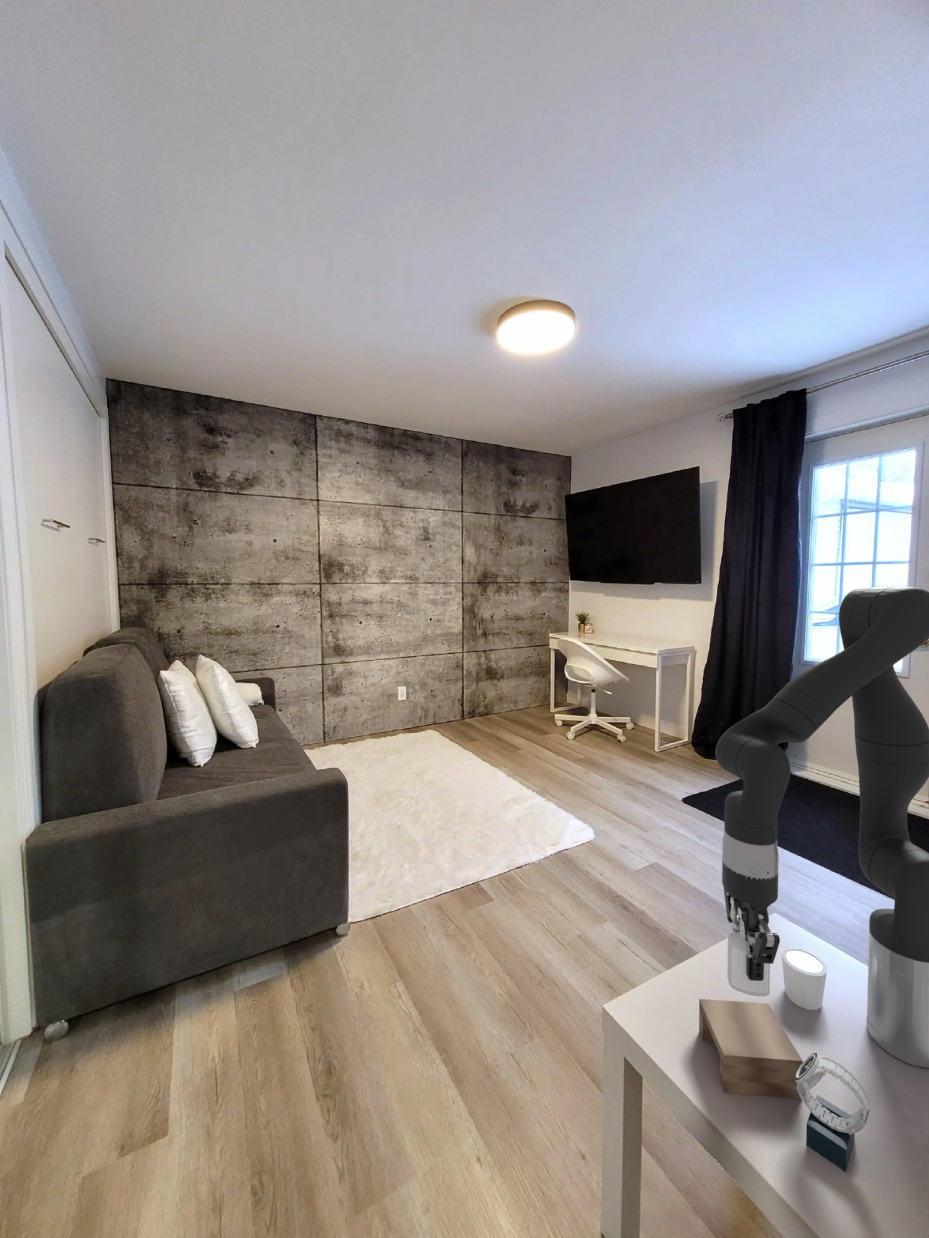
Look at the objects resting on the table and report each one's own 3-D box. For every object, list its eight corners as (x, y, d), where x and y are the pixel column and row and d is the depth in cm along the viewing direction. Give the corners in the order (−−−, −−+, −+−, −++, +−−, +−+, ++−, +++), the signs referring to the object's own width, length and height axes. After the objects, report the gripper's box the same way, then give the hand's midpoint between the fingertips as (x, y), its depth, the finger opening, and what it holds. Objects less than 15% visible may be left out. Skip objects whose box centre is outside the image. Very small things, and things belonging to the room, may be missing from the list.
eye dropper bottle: (763, 1006, 73) (763, 929, 72) (723, 984, 77) (723, 911, 77) (772, 990, 76) (773, 916, 75) (734, 969, 80) (734, 899, 80)
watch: (800, 1104, 71) (801, 1033, 71) (871, 1150, 65) (873, 1072, 65) (789, 1133, 67) (790, 1058, 67) (863, 1185, 62) (865, 1103, 61)
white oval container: (811, 983, 93) (812, 947, 92) (835, 1014, 86) (836, 976, 85) (773, 980, 93) (774, 945, 93) (794, 1011, 87) (794, 974, 86)
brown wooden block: (767, 1037, 82) (768, 1003, 81) (802, 1099, 72) (802, 1060, 72) (699, 1032, 83) (699, 998, 83) (723, 1092, 73) (724, 1054, 73)
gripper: (802, 891, 68) (799, 1008, 69) (753, 839, 82) (752, 937, 83) (745, 889, 69) (743, 1004, 70) (706, 838, 83) (706, 934, 84)
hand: (748, 967), depth 77 cm, fingers closed on eye dropper bottle, 3 cm apart
